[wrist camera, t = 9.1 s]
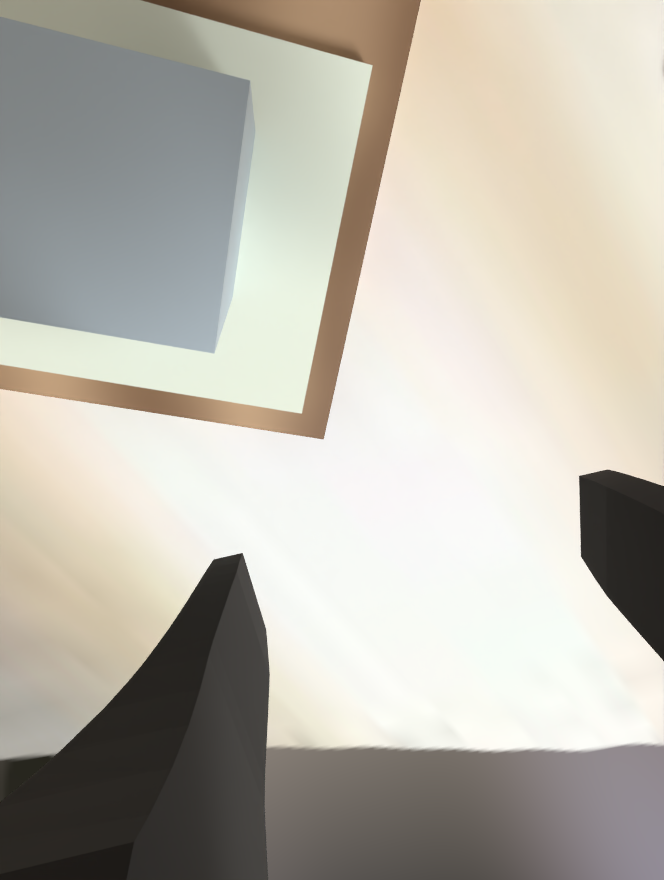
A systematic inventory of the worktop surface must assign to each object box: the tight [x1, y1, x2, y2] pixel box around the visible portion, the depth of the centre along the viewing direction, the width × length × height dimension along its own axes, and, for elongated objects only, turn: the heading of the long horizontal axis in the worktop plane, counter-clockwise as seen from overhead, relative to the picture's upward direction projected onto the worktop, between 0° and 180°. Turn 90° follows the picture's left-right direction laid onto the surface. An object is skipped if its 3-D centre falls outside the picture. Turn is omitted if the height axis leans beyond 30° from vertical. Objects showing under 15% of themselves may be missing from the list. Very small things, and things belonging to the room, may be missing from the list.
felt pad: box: [0, 0, 373, 414], centre depth 16 cm, size 10×10×1 cm
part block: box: [0, 17, 256, 353], centre depth 13 cm, size 4×4×7 cm
